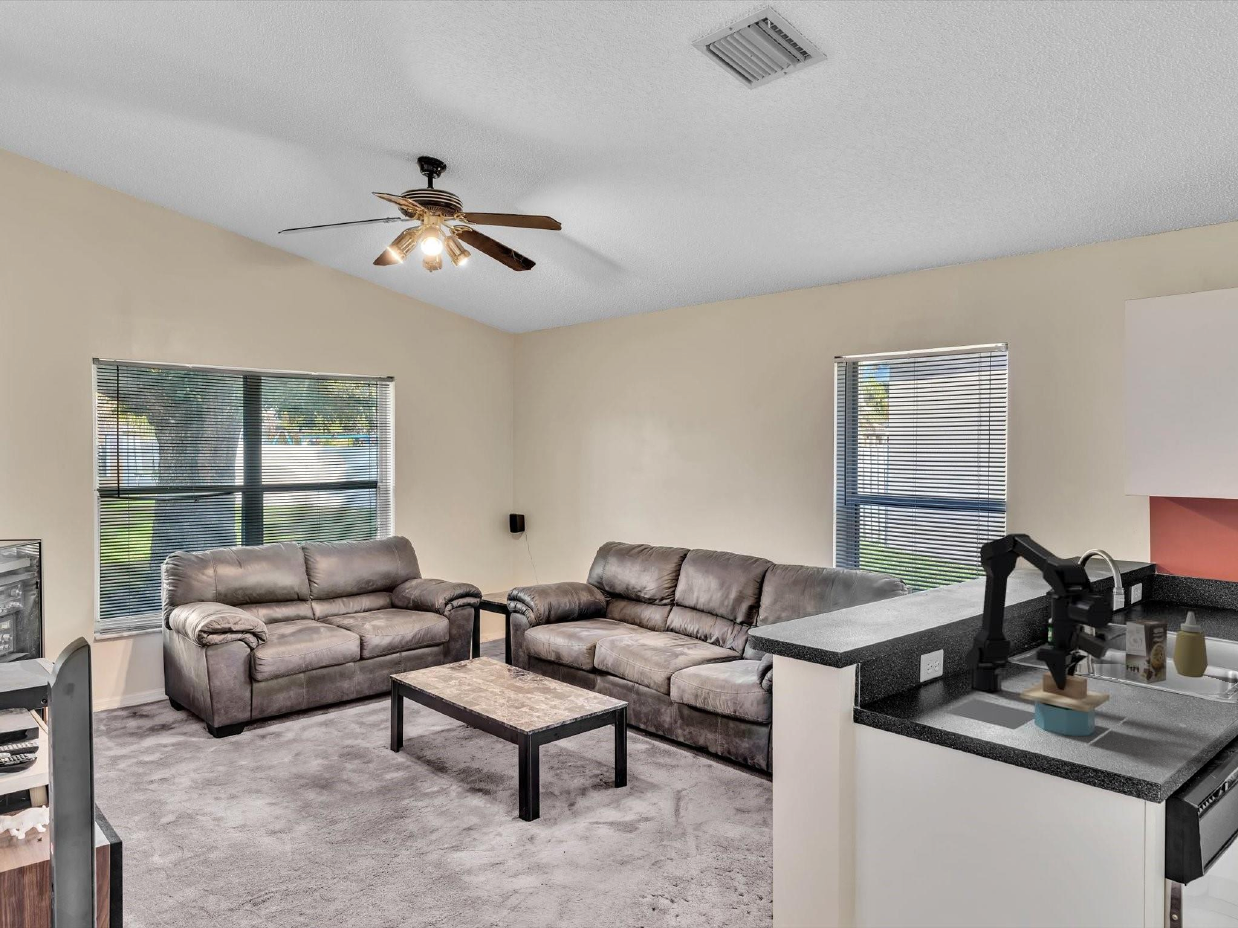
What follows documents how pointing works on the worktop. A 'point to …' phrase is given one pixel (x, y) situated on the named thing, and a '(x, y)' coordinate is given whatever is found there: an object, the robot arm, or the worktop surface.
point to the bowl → (1064, 719)
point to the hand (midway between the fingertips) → (1064, 687)
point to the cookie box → (1146, 651)
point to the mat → (993, 713)
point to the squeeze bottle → (1190, 649)
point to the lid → (1065, 694)
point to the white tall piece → (1085, 664)
